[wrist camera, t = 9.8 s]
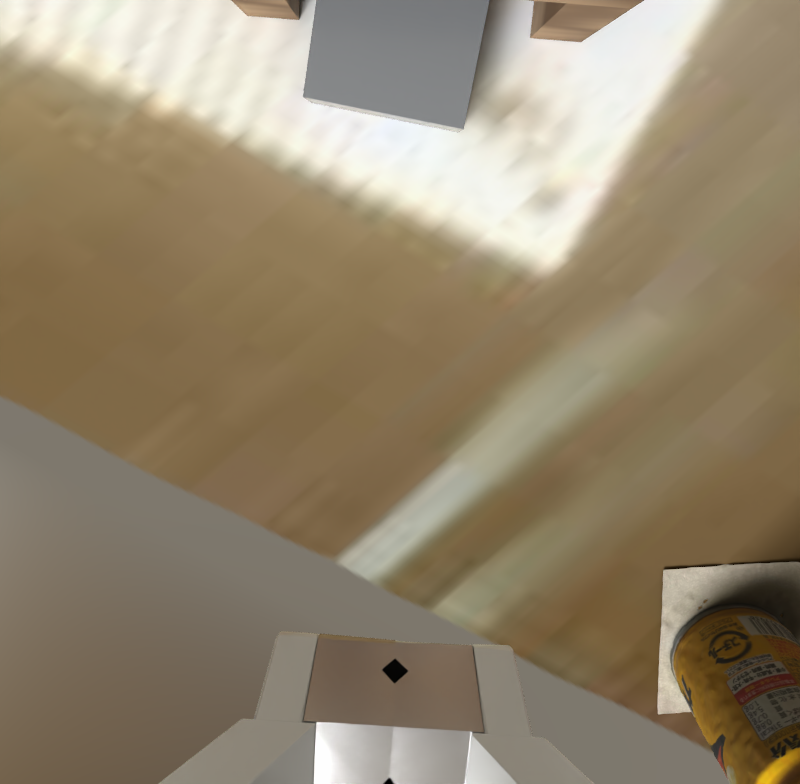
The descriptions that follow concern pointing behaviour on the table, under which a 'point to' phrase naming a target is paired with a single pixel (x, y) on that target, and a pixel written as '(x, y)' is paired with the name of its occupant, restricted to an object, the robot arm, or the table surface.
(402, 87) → the grey rectangular block
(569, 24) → the shelf
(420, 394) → the table surface
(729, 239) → the table surface
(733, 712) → the condiment
